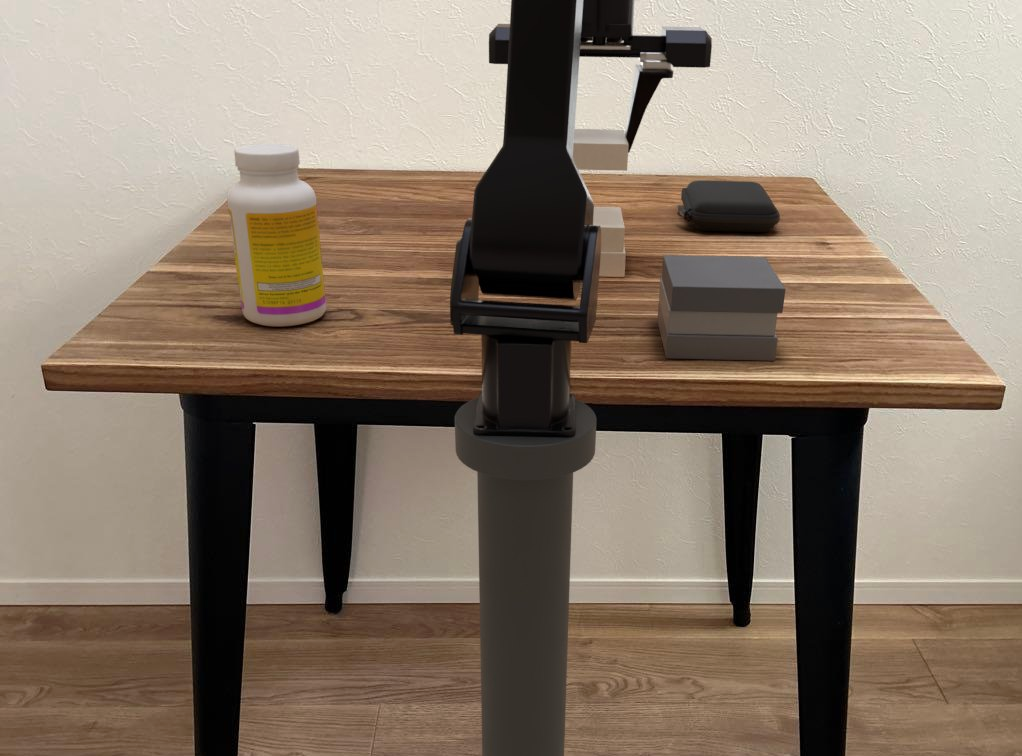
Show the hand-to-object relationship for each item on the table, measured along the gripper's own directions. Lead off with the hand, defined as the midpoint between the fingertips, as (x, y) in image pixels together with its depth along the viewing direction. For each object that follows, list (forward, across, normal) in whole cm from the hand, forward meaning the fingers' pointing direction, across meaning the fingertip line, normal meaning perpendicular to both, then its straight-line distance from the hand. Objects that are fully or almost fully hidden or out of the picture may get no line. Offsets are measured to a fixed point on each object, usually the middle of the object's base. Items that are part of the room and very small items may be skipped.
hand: (595, 151), depth 95 cm
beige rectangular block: (+1, 0, 0) cm, 1 cm away
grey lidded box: (+10, -9, +21) cm, 25 cm away
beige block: (+10, 0, 0) cm, 10 cm away
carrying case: (+10, -15, -20) cm, 27 cm away
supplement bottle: (+10, +25, +17) cm, 32 cm away
